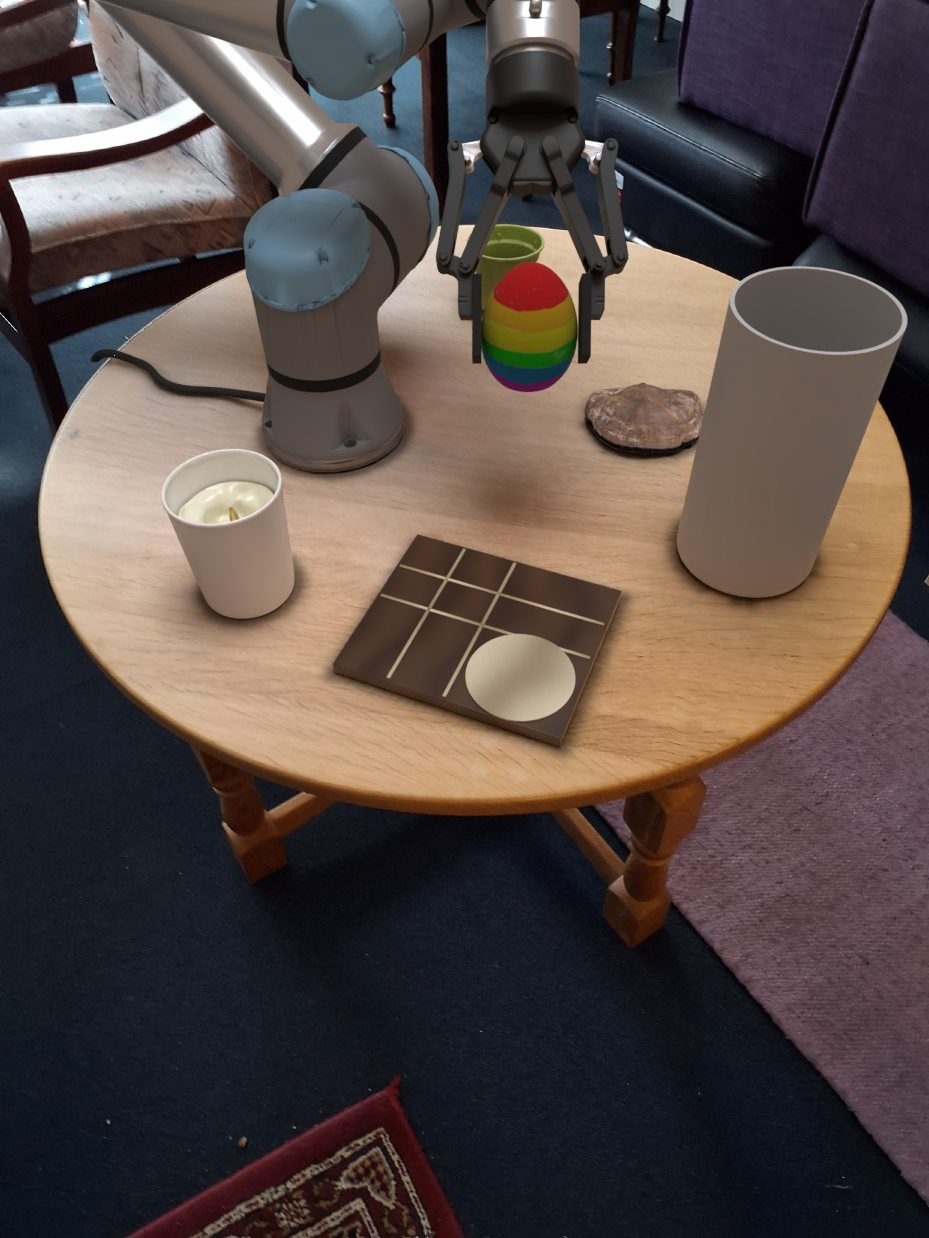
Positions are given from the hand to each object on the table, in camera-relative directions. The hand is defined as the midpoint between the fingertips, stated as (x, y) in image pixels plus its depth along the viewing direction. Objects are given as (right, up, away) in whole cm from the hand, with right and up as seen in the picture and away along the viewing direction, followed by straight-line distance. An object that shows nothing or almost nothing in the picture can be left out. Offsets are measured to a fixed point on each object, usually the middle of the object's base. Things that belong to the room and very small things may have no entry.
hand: (530, 359), depth 73 cm
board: (-4, -23, +5) cm, 23 cm away
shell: (+14, 0, +25) cm, 28 cm away
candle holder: (-25, -18, +9) cm, 32 cm away
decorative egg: (0, 0, +5) cm, 5 cm away
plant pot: (0, +19, +42) cm, 46 cm away
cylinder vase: (+21, -15, +11) cm, 28 cm away
